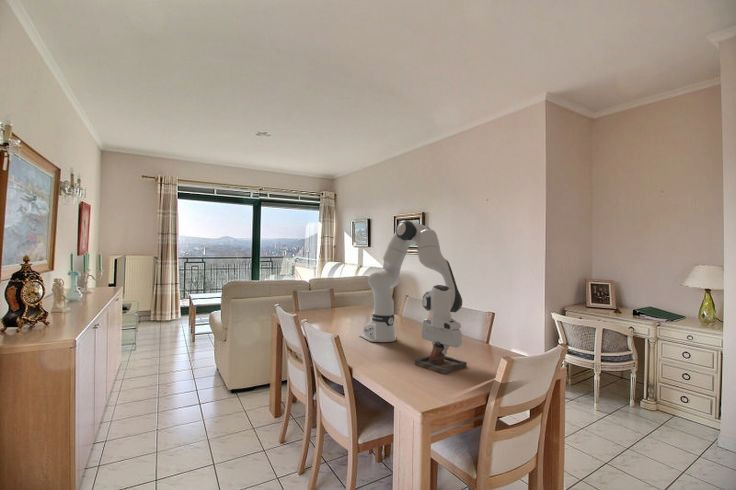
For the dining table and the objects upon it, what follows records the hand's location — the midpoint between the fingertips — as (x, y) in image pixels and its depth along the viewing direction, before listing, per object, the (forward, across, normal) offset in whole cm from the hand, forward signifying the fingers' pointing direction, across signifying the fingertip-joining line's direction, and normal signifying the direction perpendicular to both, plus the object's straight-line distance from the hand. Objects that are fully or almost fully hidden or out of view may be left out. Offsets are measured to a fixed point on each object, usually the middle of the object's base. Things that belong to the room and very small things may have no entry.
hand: (440, 353), depth 157 cm
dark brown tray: (+6, 0, 0) cm, 6 cm away
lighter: (+4, -3, 0) cm, 5 cm away
